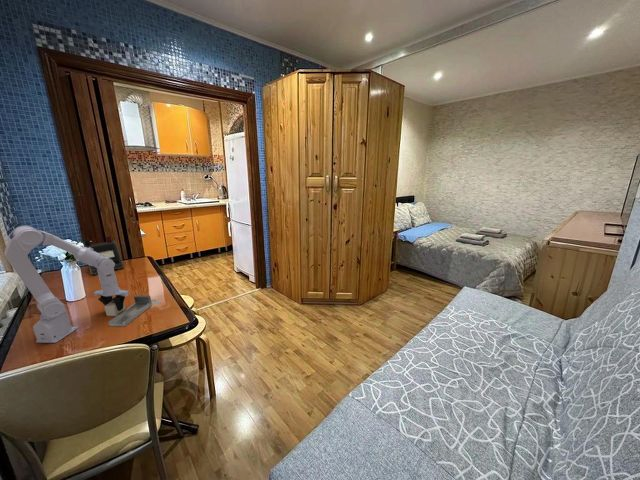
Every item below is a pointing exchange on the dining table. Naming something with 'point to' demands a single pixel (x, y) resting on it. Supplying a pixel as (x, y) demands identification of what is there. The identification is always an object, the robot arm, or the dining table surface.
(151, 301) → the mounting bracket
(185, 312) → the dining table surface
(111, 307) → the module
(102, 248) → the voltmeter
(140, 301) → the rail
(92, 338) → the dining table surface
